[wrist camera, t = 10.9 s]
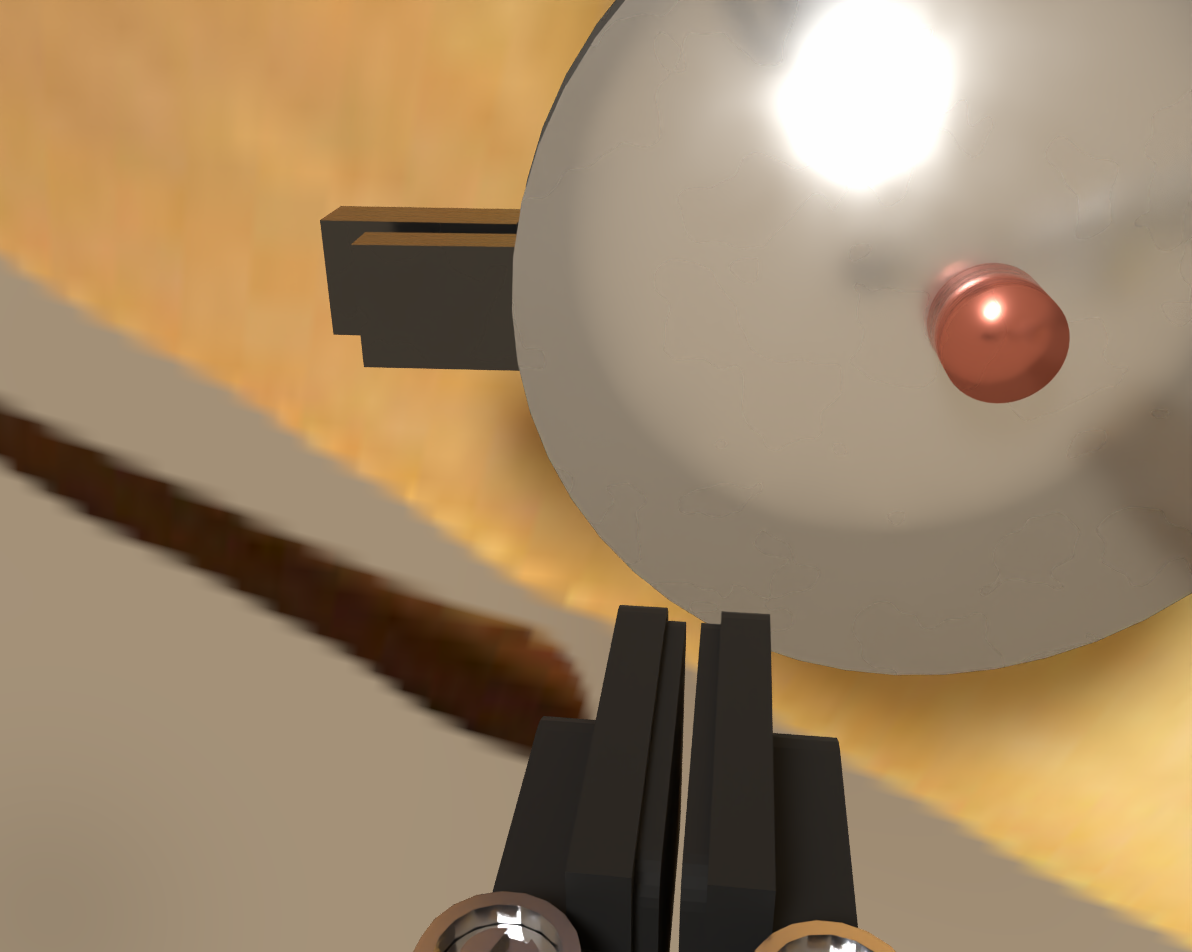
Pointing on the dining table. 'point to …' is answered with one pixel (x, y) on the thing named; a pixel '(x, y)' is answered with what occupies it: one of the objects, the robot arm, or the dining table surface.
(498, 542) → the dining table surface
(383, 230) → the cooker pot
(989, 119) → the cooker lid
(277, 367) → the dining table surface
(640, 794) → the robot arm
